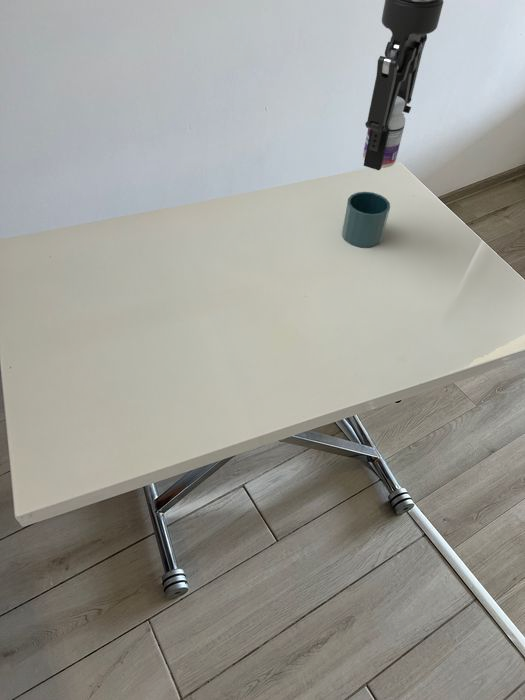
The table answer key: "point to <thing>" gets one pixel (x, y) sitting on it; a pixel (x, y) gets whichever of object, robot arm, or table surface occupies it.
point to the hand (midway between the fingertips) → (379, 158)
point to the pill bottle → (392, 134)
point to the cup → (365, 219)
